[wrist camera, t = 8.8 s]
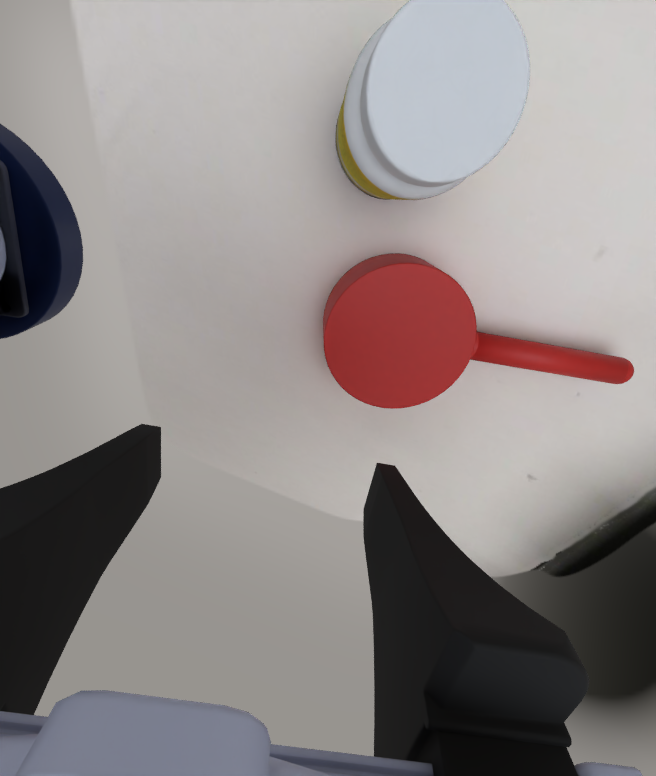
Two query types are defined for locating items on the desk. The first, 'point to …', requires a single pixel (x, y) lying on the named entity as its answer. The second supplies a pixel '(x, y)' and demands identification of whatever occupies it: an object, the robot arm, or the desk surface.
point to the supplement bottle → (433, 97)
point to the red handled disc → (426, 336)
